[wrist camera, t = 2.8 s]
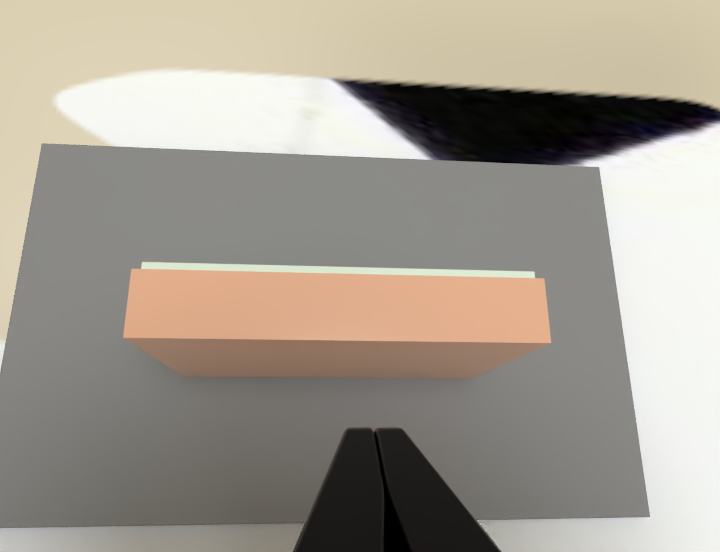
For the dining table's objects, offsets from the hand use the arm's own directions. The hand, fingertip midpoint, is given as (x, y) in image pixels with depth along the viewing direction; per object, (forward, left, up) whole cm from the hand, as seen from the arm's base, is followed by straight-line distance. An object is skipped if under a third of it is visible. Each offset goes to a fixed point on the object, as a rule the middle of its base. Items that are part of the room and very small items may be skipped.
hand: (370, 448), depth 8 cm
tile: (+2, -3, -13) cm, 14 cm away
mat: (+3, -4, -13) cm, 14 cm away
